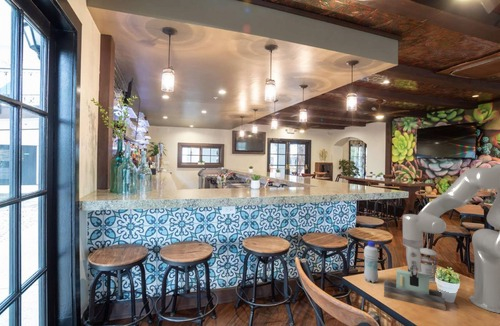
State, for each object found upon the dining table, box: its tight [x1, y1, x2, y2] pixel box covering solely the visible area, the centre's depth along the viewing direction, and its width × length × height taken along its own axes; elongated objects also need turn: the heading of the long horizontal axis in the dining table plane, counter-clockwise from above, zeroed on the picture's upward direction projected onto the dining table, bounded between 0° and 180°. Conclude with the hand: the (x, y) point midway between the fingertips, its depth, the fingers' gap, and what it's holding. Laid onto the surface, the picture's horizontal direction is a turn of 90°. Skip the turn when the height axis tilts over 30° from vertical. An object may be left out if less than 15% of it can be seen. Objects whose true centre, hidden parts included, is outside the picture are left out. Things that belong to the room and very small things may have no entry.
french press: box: [418, 233, 439, 284], centre depth 131 cm, size 10×12×25 cm
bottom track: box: [383, 279, 447, 311], centre depth 112 cm, size 22×12×4 cm, turn 61°
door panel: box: [395, 268, 430, 295], centre depth 112 cm, size 12×4×9 cm, turn 62°
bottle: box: [363, 240, 379, 284], centre depth 127 cm, size 7×7×20 cm
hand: (413, 281), depth 112 cm, fingers open, 9 cm apart
